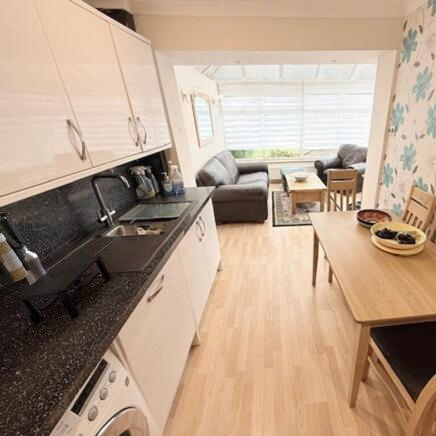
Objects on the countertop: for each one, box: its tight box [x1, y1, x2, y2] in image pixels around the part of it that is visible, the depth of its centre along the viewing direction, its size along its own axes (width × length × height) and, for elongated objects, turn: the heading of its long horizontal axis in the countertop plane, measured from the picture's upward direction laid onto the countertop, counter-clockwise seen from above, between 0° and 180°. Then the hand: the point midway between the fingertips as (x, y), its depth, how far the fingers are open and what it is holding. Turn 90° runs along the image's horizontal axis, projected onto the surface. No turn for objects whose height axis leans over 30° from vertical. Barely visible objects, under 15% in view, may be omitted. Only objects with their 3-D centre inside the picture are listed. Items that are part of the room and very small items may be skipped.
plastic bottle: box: [21, 244, 47, 286], centre depth 96 cm, size 6×7×20 cm
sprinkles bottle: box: [0, 233, 28, 283], centre depth 64 cm, size 5×5×13 cm
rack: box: [14, 254, 112, 325], centre depth 91 cm, size 14×22×12 cm, turn 8°
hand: (16, 275), depth 67 cm, fingers closed on sprinkles bottle, 4 cm apart
